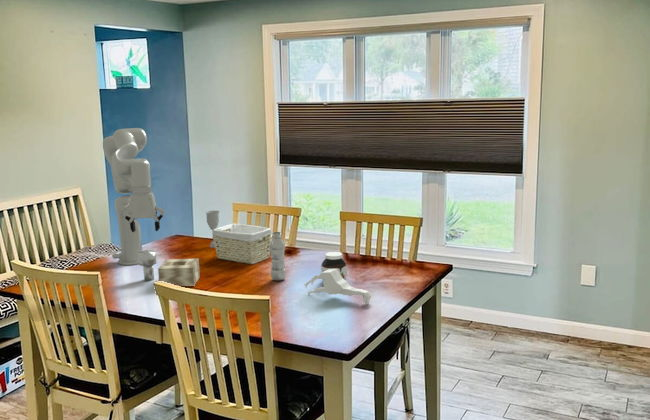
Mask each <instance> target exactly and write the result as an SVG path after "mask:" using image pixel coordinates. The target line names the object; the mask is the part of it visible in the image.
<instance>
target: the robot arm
mask: <svg viewBox="0 0 650 420" xmlns="http://www.w3.org/2000/svg"><path fill="white" fill-rule="evenodd" d="M147 142H148V137H147V133H146V132H145V130H144V129H143V128H140V127H133V128H131V127H130V128H129V127H128V128H120V129H117V130H115V131H114V132H113V134H112V135H110V136H106V137H105V138H104V139H103V140H102V149H103V153H104V156H105V158H106V161H108V163H109V166H110V168H111V175H112V180H113V186H114V189H115V191H116V193H117V194H120V195H121V194H123V195H121V196H118V197H116V198H115V199H114V209H115V212H116V217H117V223H118V232H119V244H120V252H119V253H112V254H111V256H112V259H113V260H114V259H118V264H119V265H121V266H122V265H123V266H133V265H134V266H135V265H139V255H138V253H139V252H141V251H143V246H142V233H141V225H140V222H139V221H138V220H137V219H153V220H154V229H155V230H154V231H155V232H158V231H159V230H160V228H161V227H160V226H161V225H160V221H161V220H162V218H163V217H164V215H165V213H166V210H165V209H163V208H161V207H158V206H157V203H156V197H155V193H154V192H153V191H152V183H151V182H152V180H151V179H152V178H151V164H150V162H149V161H148V159H147V158H136V157H137V156H138V153H141V151H142V150H143V149H145V147H146V145H147ZM124 194H126V195H124ZM158 212H159V213H160V215H159V216H158Z"/></svg>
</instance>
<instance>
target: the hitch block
mask: <svg viewBox="0 0 650 420" xmlns="http://www.w3.org/2000/svg"><path fill="white" fill-rule="evenodd" d="M199 259H200V258H198V257H197V258H177V259H176V258H175V259H172V258H171V259H167V258H166V259H164V261H163V262H162V263H161V264H160V266H159V267H157V271H158V282H159V281H164V282H167V283H171V284H174V285H179V286H194V287H195V286H196V285H195V284H197V283H198V281H199V279H200V277H201V274H200V273H201V271H200V260H199ZM196 282H197V283H196Z"/></svg>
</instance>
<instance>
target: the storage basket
mask: <svg viewBox="0 0 650 420" xmlns="http://www.w3.org/2000/svg"><path fill="white" fill-rule="evenodd" d="M212 233H213V234H212V236H213V235H214V240H215V246H216V247H215V252H216V258H217V259H219V260H225V261H233V262H237V263H244V264H249V265H255V264H257V263H259V262H262V261H266V260H267V259H269V258H271V252H270V243H271V241H272V240H271V237H272V236H271V235H272V234H273V232H272V229H271V228H270V227H264V226H259V225H250V224H245V223H243V224H242V223H229V224H227V225H223V226H220V227H217V228H216V229H214V230H213V231H212Z"/></svg>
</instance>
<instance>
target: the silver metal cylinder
mask: <svg viewBox="0 0 650 420" xmlns="http://www.w3.org/2000/svg"><path fill="white" fill-rule="evenodd" d="M138 255H139V264H138V265H139V266H141V267H142V268H143V281H144V282H151V281H154V280H155V273H154V265H157V262H158V261H157V253H156V250H153V249H147V250H146V249H145V250H142V251H141V252H139V253H138Z"/></svg>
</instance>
